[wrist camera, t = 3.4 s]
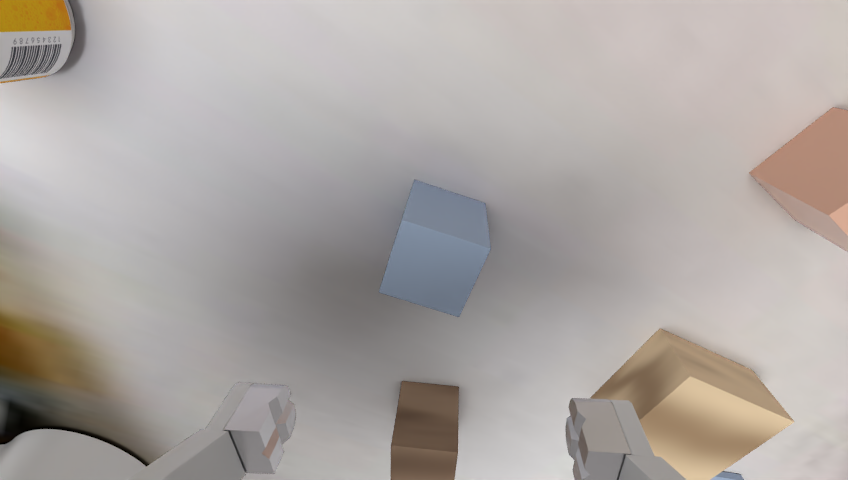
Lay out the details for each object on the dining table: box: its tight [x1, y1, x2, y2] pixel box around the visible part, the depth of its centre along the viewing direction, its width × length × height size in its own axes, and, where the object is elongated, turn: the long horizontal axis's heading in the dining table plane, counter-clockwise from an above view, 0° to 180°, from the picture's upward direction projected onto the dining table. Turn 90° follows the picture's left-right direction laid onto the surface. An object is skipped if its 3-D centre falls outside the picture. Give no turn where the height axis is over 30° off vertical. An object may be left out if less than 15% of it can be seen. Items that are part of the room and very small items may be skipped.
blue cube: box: [379, 180, 491, 317], centre depth 21 cm, size 4×4×5 cm
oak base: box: [591, 329, 794, 480], centre depth 25 cm, size 7×7×4 cm
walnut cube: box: [391, 381, 459, 480], centre depth 27 cm, size 4×4×5 cm
